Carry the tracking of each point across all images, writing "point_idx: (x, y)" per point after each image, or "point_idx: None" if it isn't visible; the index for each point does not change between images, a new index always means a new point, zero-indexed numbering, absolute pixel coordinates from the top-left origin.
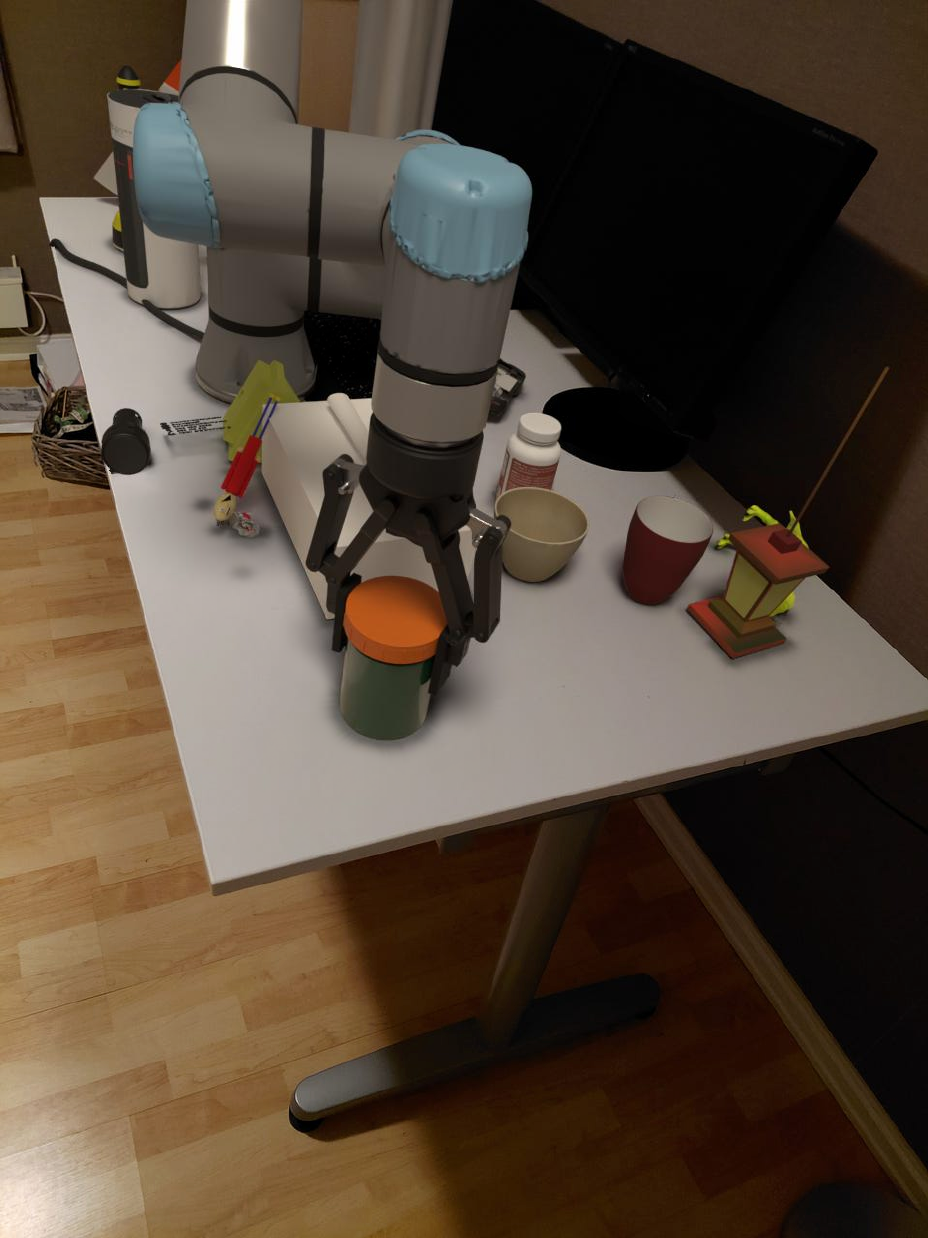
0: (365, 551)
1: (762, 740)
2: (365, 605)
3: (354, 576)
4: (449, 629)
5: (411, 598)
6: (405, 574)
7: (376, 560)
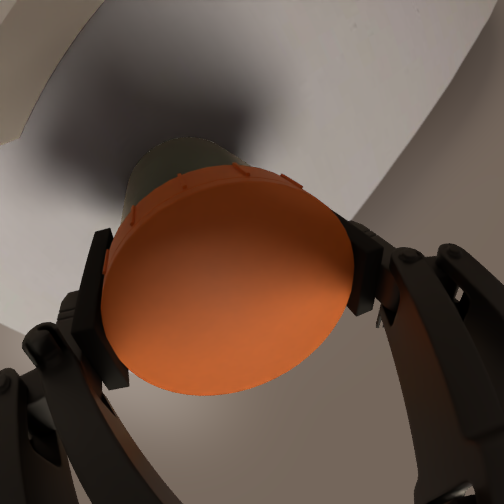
0: (166, 491)
1: (476, 34)
2: (173, 358)
3: (85, 342)
4: (382, 320)
5: (242, 266)
6: (67, 6)
7: (7, 60)
